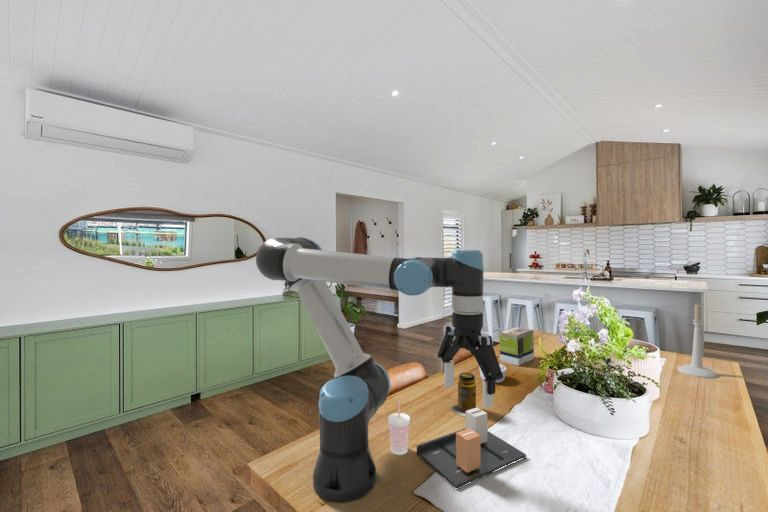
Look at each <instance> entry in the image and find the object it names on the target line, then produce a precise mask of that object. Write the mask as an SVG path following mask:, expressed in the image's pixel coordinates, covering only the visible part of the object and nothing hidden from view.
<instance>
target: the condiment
mask: <svg viewBox="0 0 768 512" xmlns="http://www.w3.org/2000/svg"><path fill="white" fill-rule="evenodd" d="M475 376H476V375H474V373H471V372H460V373H459V375H458V377H459V378H458V382H457V404H456V405H453V406H450V407H448V409H449V410H451V411H452V412H454V413H455V414H457V415H460V416H461V417H463V418H466V411H467V410H470V409H474V408H477V384H476V380H475V379H476V377H475Z"/></svg>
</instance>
